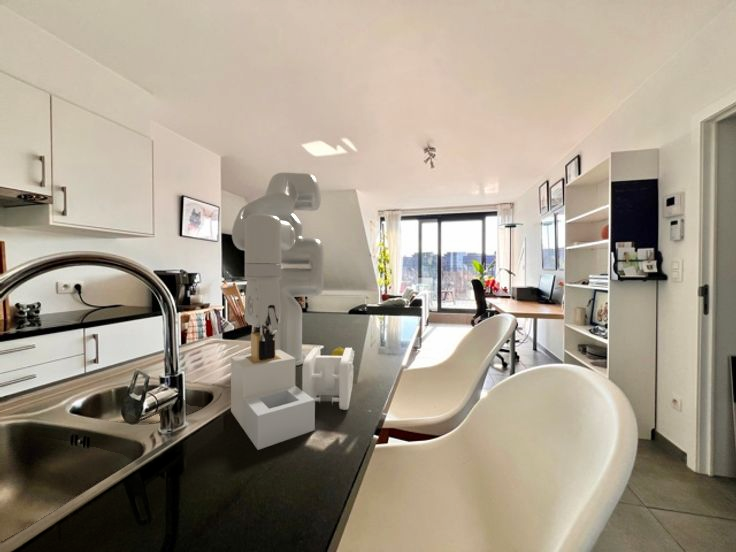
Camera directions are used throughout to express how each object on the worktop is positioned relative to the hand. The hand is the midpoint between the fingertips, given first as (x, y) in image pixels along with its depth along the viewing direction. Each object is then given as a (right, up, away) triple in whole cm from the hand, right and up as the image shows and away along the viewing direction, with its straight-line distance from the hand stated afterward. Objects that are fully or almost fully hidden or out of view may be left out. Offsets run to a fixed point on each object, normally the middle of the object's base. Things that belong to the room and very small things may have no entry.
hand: (263, 355), depth 67 cm
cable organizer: (+14, -13, +7) cm, 20 cm away
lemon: (+14, -12, +26) cm, 32 cm away
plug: (0, -3, 0) cm, 3 cm away
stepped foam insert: (+3, -13, -3) cm, 13 cm away
